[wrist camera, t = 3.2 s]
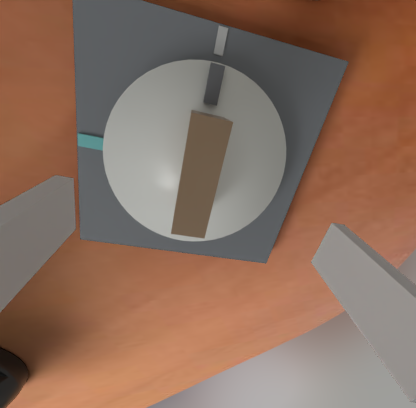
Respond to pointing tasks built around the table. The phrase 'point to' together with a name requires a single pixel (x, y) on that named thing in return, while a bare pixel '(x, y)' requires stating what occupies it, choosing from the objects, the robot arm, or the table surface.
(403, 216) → the table surface
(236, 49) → the base plate
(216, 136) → the dial
